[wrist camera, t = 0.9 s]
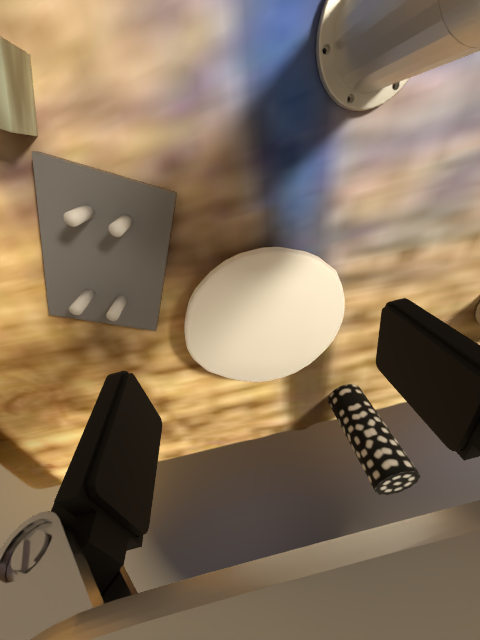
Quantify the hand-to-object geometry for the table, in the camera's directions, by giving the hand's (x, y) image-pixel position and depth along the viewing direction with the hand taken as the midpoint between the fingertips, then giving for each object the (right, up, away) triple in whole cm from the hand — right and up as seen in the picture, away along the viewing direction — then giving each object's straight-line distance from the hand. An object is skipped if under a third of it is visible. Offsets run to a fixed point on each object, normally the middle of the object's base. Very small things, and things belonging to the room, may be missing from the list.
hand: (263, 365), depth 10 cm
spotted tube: (+25, -17, +53) cm, 61 cm away
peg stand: (-20, +11, +28) cm, 36 cm away
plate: (+3, +3, +37) cm, 37 cm away
